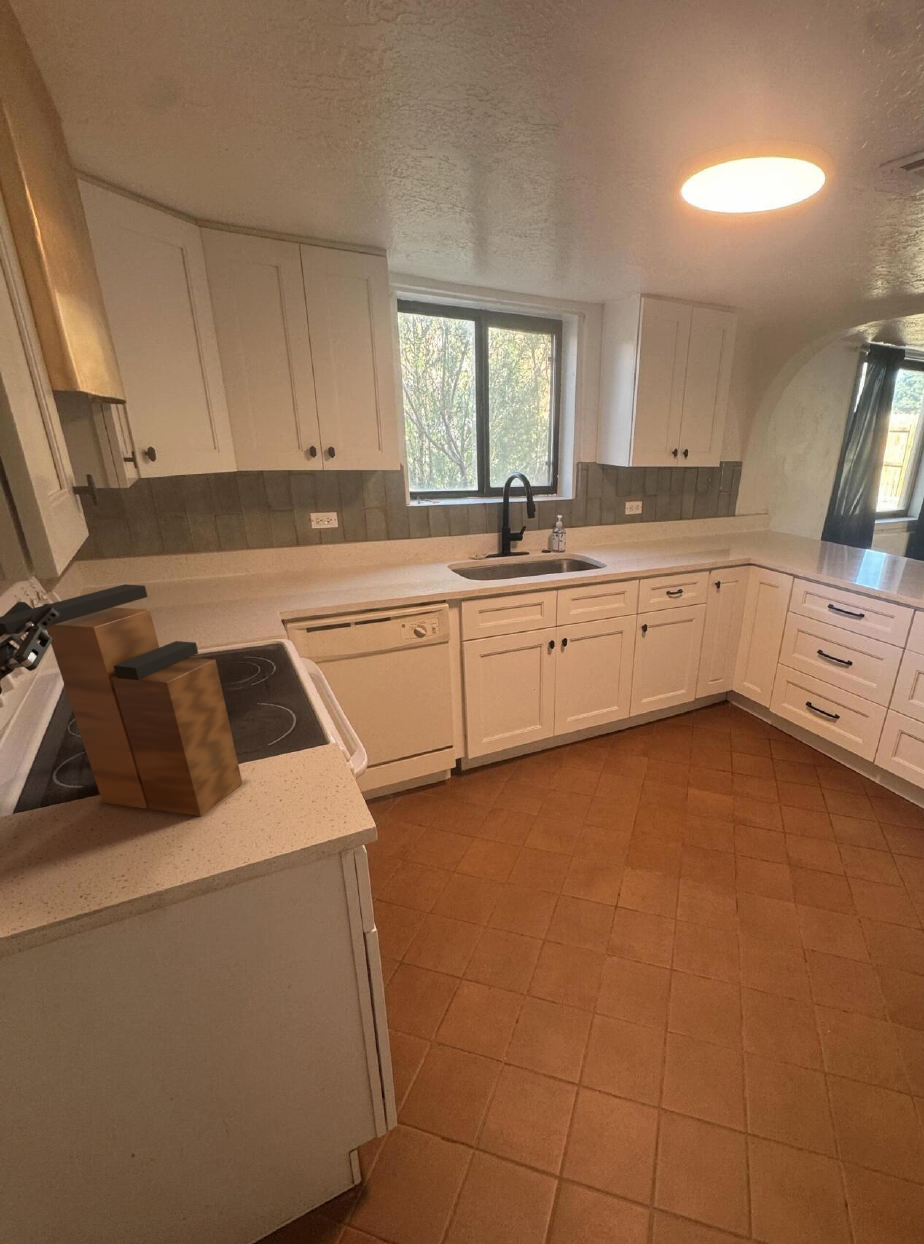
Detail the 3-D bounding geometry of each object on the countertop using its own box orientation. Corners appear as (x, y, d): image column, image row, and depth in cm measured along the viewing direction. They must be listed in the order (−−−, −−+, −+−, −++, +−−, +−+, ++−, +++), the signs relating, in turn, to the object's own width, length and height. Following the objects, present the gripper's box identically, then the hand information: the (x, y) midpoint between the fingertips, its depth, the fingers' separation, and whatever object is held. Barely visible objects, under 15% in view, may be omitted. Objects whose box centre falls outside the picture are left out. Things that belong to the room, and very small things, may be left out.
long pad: (9, 638, 76) (4, 623, 75) (-15, 636, 76) (-21, 621, 76) (148, 597, 96) (145, 585, 95) (128, 595, 97) (124, 584, 96)
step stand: (201, 816, 94) (153, 631, 83) (102, 802, 97) (44, 624, 86) (242, 783, 103) (205, 613, 92) (151, 771, 107) (104, 606, 95)
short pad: (138, 680, 86) (135, 667, 86) (116, 678, 87) (112, 665, 86) (198, 653, 97) (196, 642, 97) (178, 651, 98) (175, 640, 97)
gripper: (-41, 691, 66) (62, 590, 77) (-133, 681, 69) (-22, 584, 80) (11, 726, 72) (100, 627, 83) (-76, 716, 75) (21, 621, 85)
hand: (40, 607), depth 81 cm, fingers closed on long pad, 4 cm apart
